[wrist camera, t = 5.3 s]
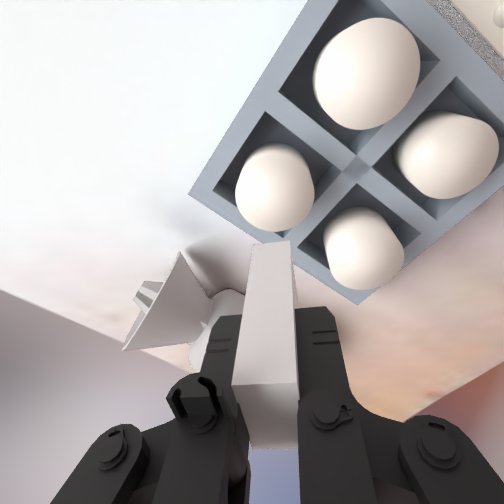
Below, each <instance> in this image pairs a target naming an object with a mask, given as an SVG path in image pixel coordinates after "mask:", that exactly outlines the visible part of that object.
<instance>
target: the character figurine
mask: <svg viewBox="0 0 504 504" xmlns="http://www.w3.org/2000/svg"><path fill="white" fill-rule="evenodd" d="M133 301H134V302H135V303H136V304H137V305H138V307H139V308H140V309H141V312H140V314H139V316H138V317H137V319H136V321H135V323H134V325H133V327H132V328H131V330H130V332H129V334H128V336H127V338H126V340H125V342H124V345H123V347H122V352H124V351H132V350H139V349H147V348H154V347H161V346H169V345H176V344H183V343H187V344H189V345H190V347H189V362H190V365H191V367H192V369H193V370H194V371H195V373H198V372H200V370H201V366H202V362H203V358H204V355H205V353H206V347H207V343H208V342H209V341H208V340H209V336H210V332H211V328H212V326H213V325H214V324H215V323H216V321H217V320H218V319H219V317H220V316H226V315H239V314H243V308H244V301H245V295H243V294H241V293H239V292H237V291H235V290H233V289H226V290H223V291H221V292H219V293H217V294H216V295H215V296H214V297H213V298H212V299H210V298H208V297H207V295H206V293H205V292H204V290H203V288H202V287H201V285H200V283H199V282H198V280H197V278H196V277H195V275H194V274H193V272H192V270H191V269H190V267H189V265H188V264H187V262H186V260H185V259H184V257H183V255H182V254H181V252H180V251H179V252H178V255H177V258H176V260H175V262H174V264H173V266H172V268H171V270H170V272H169V274H168V276H167V278H166V280H165V281H164V283H163V282H151V281H144V282H143V284H142V286H141V287H140V289H139V291H138V292H137V294H136V295H135V297H134V299H133Z"/></svg>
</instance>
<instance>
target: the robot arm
mask: <svg viewBox="0 0 504 504" xmlns="http://www.w3.org/2000/svg"><path fill="white" fill-rule="evenodd" d="M208 341H209V342H208V343H207V347H206V353H205V355H204V358H203V362H202V366H201V370H200V372H198V373H193V374H189V375H188V376H186V377H184V378H182V379H180V380H179V381H178V382H177V383H176V384H175V385H174V386H173V387H172V388H171V390H170V391H169V393H168V395H167V397H166V400H167V402H168V404H169V405H170V408H171V409H172V411H173V413H174V415H175V417H176V418H175V419H173V420H171V421H169V422H167V423H165V424H162V425H159V426H157V427H154V428H151V429H148V430H146V431H143V432H140V430H139V429H138V428H137V427H135V426H133V425H132V424H121V425H118V426H115V427H112V428H110V429H109V430H107V431H106V432H105V433H103V434H102V435H100V436H99V437H98V439H97V440H96V441H95V442H94V443H93V444H92V445H91V447H90V448H89V449H88V451H87V452H86V454H85V455H84V457H83V458H82V459H81V461H80V462H79V464H78V465H77V466H76V468H75V469H74V471H73V472H72V474H71V475H70V476H69V478H68V479H67V481H66V482H65V483H64V485H63V486H62V488H61V489H60V490H59V492H58V493H57V495H56V496H55V497H54V499H53V500H52V502H51V503H50V504H249V494H250V479H251V471H250V464H249V461H248V450H249V441H250V444H251V447H252V449H298V454H299V476H300V500H301V504H504V483H503V481H502V480H501V479H500V477H499V476H498V475H497V473H496V472H495V471H494V470H493V468H492V467H491V466H490V465H489V463H488V462H487V460H486V459H485V458H484V457H483V455H482V454H481V453H480V451H479V450H478V449H477V447H476V446H475V445H474V444H473V442H472V441H471V440H470V439H469V438H468V437H467V436H466V435H465V434H464V433H463V432H462V431H461V430H460V429H459V428H458V427H457V426H455V425H453V424H452V423H450V422H448V421H447V420H445V419H442V418H438V417H435V416H431V415H421V416H415V417H413V418H411V419H409V420H407V421H406V422H405V423H402V422H398V421H395V420H391V419H388V418H384V417H381V416H378V415H376V414H373V413H371V412H370V411H368V410H367V409H365V408H364V407H363V406H362V405H360V404H359V403H358V402H357V400H356V399H355V397H354V396H353V394H352V392H351V390H350V387H349V383H348V378H347V373H346V369H345V364H344V359H343V355H342V350H341V345H340V341H339V336H338V332H337V327H336V322H335V317H334V316H333V315H332V313H331V312H330V311H329V310H328V309H327V308H326V306H324V307H312V308H300V309H298V301H297V290H296V283H295V275H294V268H293V261H292V253H291V246H290V241H281V242H273V243H264V244H256V245H253V250H252V257H251V263H250V269H249V276H248V282H247V288H246V295H245V301H244V308H243V314H239V315H226V316H220V317H219V319H218V320H217V321H216V323H215V324H214V325H213V326H212V328H211V332H210V336H209V340H208Z"/></svg>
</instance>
